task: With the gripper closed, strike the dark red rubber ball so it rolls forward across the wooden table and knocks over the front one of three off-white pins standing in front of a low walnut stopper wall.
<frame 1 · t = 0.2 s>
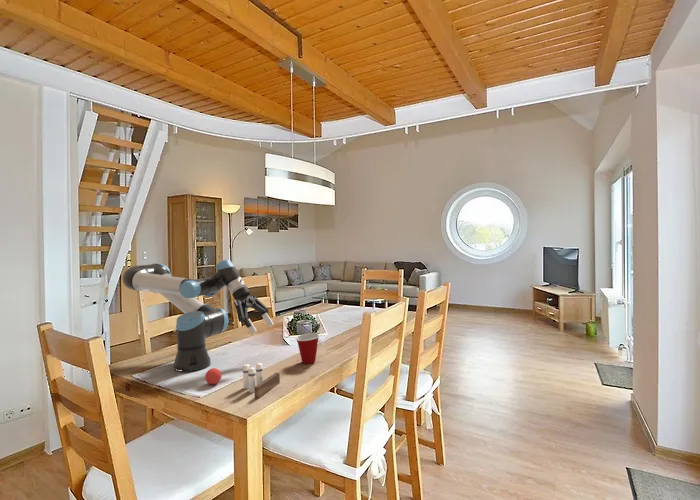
hand: (263, 329, 176), 15 cm above the table, tool tilted 35°, fingers open, 13 cm apart
ball: (213, 376, 152), on the table
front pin: (246, 387, 147), on the table
pin 2: (259, 386, 148), on the table
plastic cup: (308, 362, 175), on the table
stopper wall: (267, 390, 144), on the table
pin 1: (252, 391, 144), on the table
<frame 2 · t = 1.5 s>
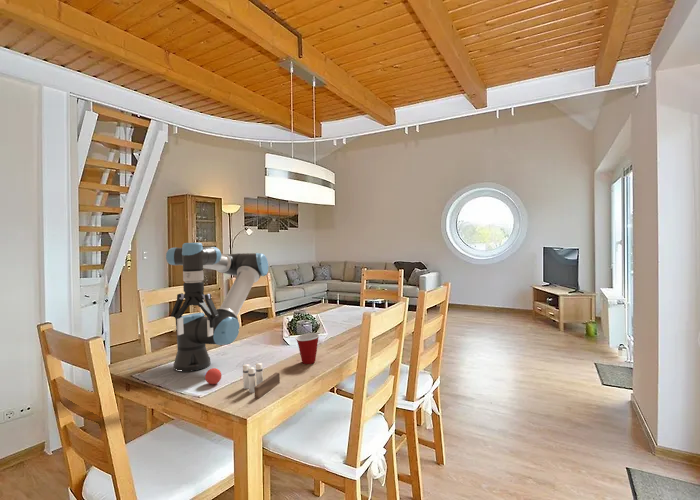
hand: (195, 335, 155), 18 cm above the table, tool pointing down, fingers open, 13 cm apart
nothing on the table moved.
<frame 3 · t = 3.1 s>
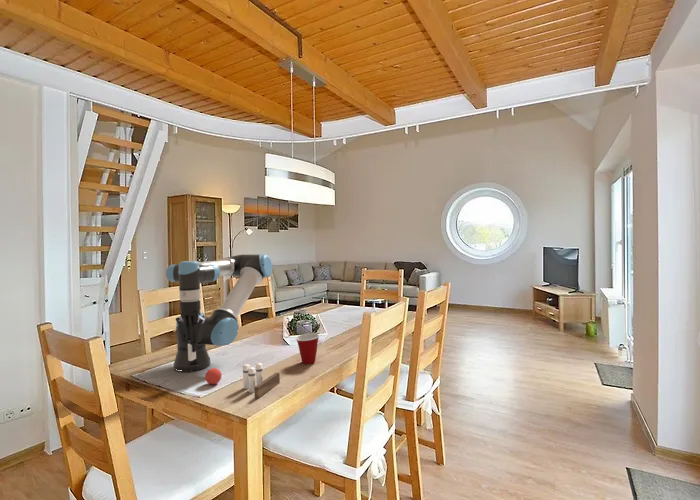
hand: (192, 359, 154), 9 cm above the table, tool pointing down, fingers closed
nothing on the table moved.
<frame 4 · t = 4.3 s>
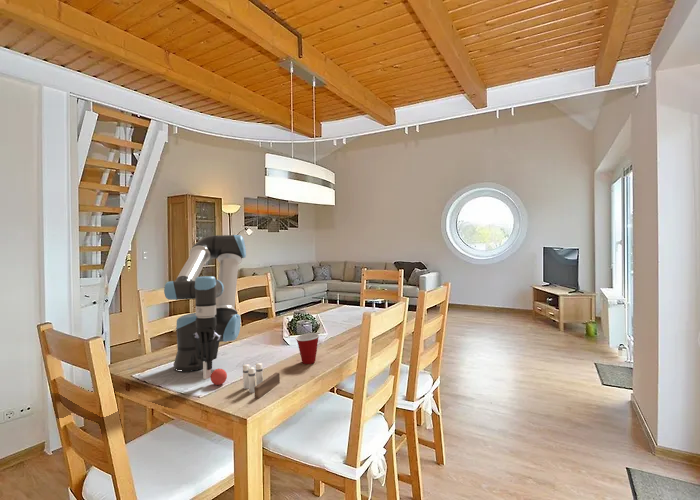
hand: (207, 377, 150), 3 cm above the table, tool pointing down, fingers closed
ball: (218, 376, 151), on the table
everything else where it was.
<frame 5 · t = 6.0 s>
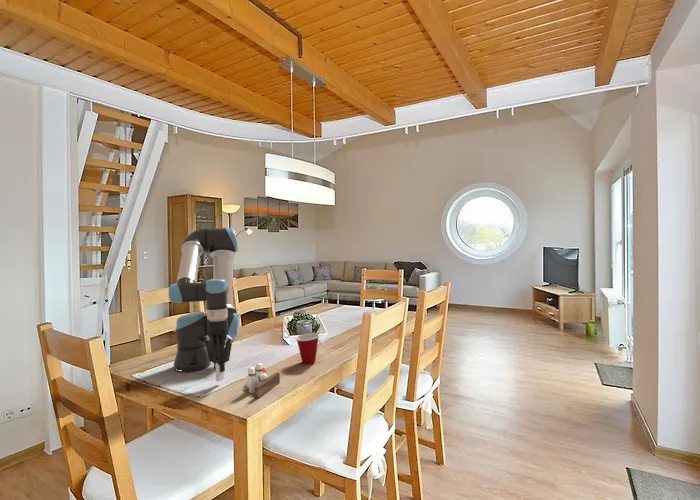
hand: (219, 379, 151), 2 cm above the table, tool pointing down, fingers closed
ball: (258, 374, 153), on the table
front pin: (248, 385, 147), point 1 cm above the table, tilted 60°, touching stopper wall
everything else where it was.
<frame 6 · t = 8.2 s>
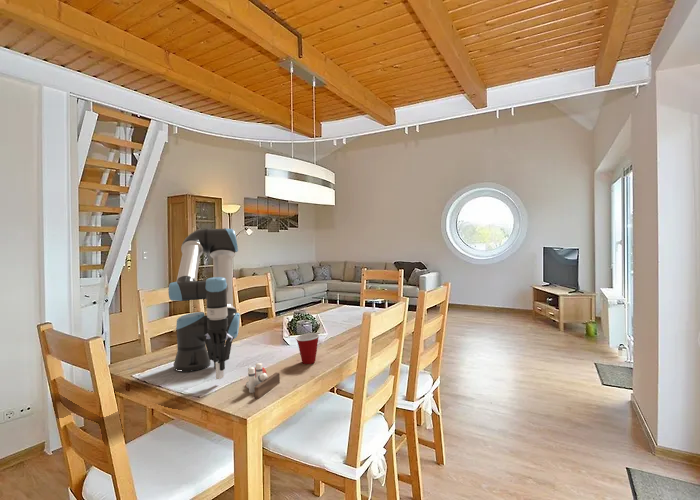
hand: (219, 378, 151), 2 cm above the table, tool pointing down, fingers closed
nothing on the table moved.
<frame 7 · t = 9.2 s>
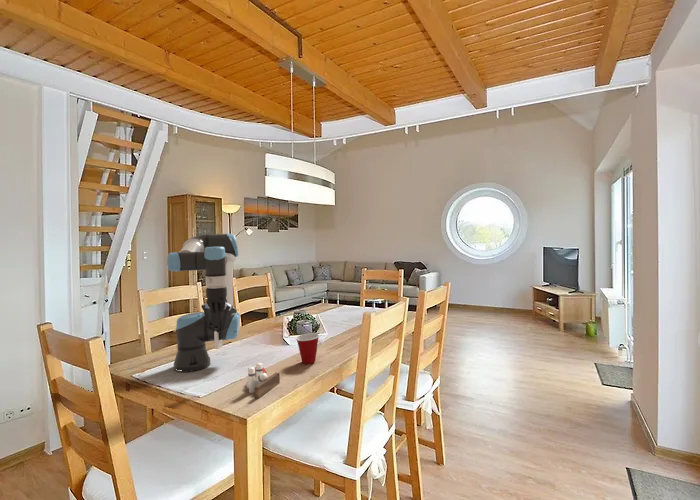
hand: (218, 347, 150), 14 cm above the table, tool pointing down, fingers closed
nothing on the table moved.
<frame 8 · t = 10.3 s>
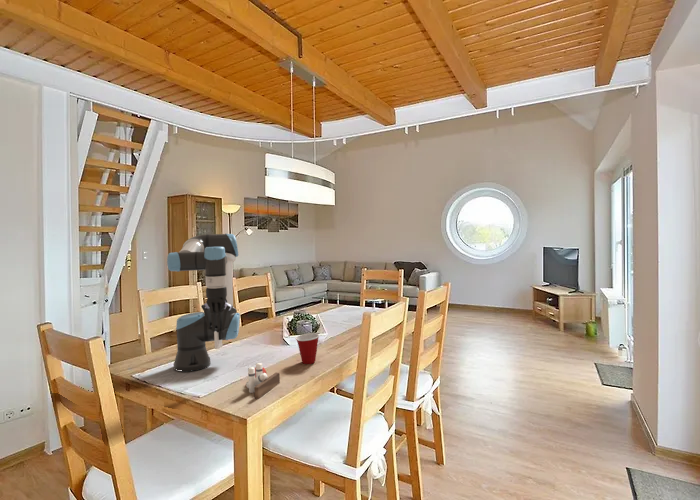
hand: (218, 347, 150), 14 cm above the table, tool pointing down, fingers closed
nothing on the table moved.
at the end: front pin tilted 60°; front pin never touched the robot; ball moved 17.5 cm from its start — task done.
